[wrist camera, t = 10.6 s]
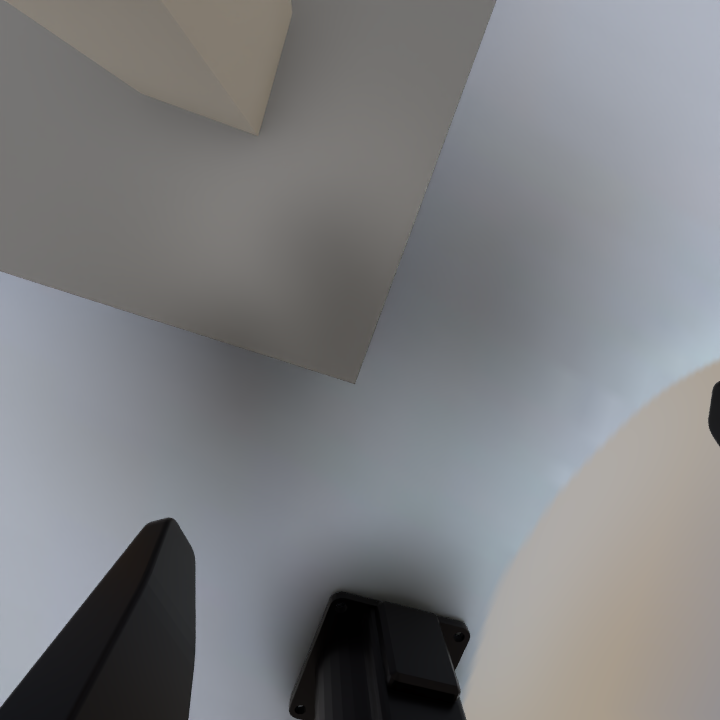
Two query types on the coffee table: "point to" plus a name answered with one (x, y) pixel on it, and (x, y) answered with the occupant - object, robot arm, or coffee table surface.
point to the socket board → (237, 178)
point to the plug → (180, 48)
